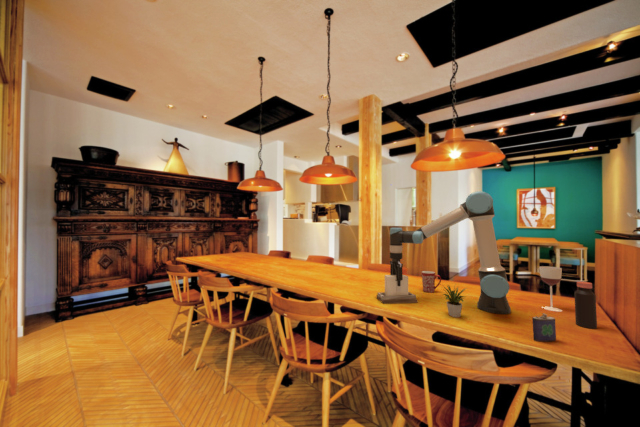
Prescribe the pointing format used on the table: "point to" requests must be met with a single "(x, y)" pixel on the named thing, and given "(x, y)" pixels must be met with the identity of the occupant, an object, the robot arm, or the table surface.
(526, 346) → the table surface
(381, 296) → the grey wooden tray
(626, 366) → the table surface
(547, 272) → the wineglass
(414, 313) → the table surface
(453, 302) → the house plant
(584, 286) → the bottle
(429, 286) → the mug
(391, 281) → the beige rectangular block
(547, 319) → the flask
